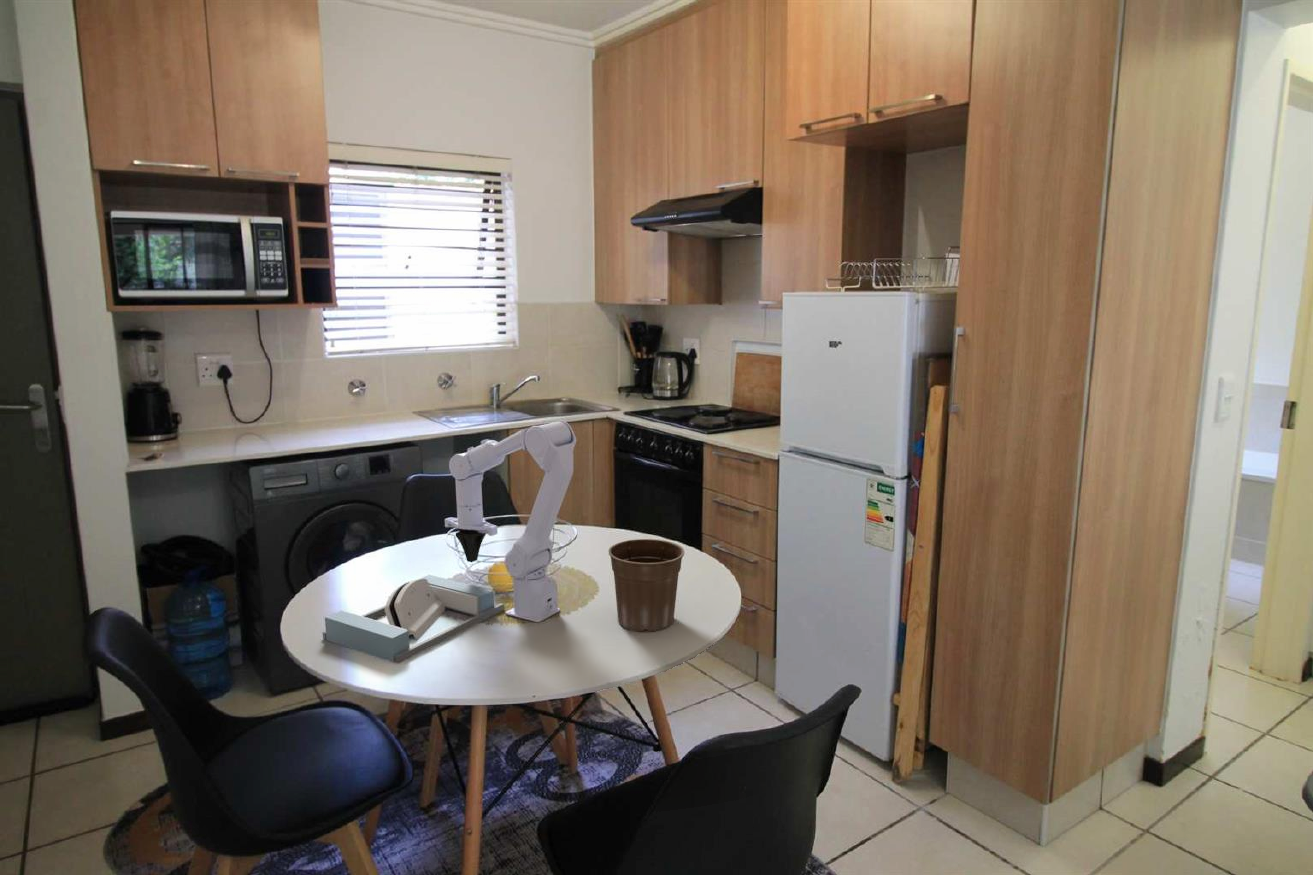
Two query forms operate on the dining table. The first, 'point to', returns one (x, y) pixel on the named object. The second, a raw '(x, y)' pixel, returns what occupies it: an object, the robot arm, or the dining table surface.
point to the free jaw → (461, 595)
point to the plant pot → (646, 582)
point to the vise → (387, 633)
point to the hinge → (413, 607)
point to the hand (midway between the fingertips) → (472, 560)
